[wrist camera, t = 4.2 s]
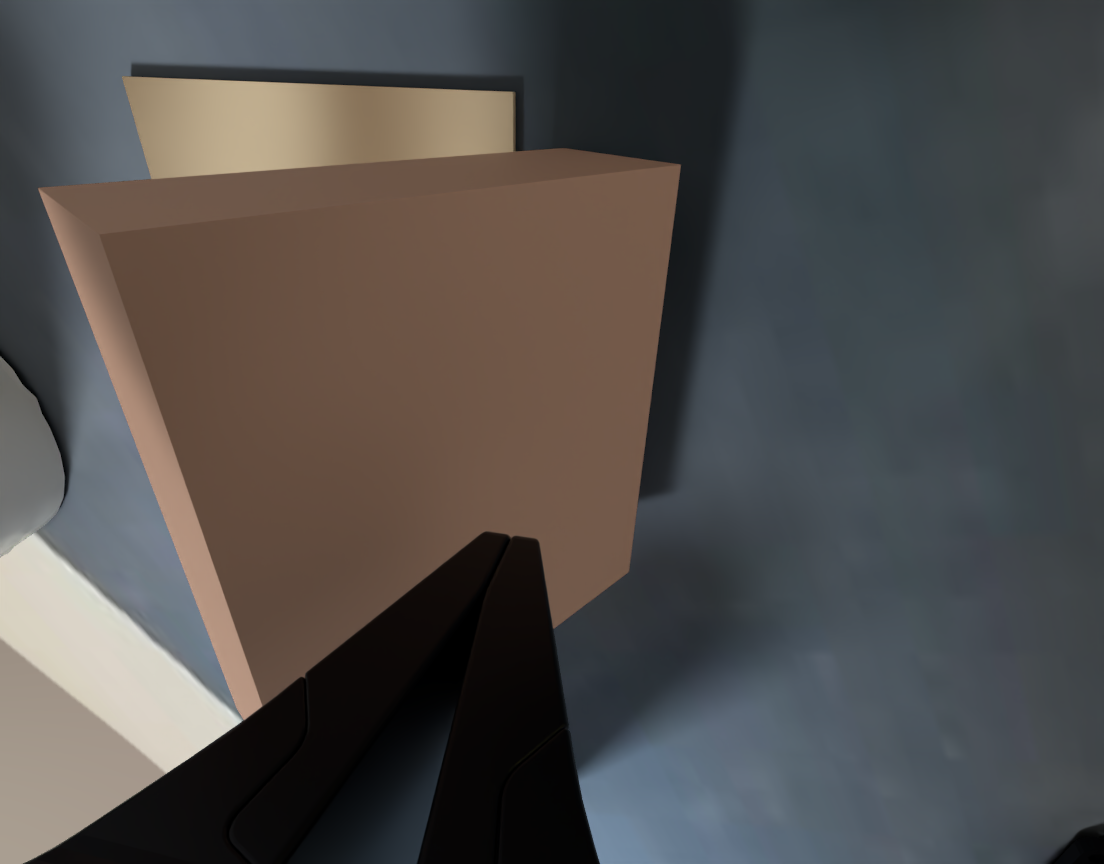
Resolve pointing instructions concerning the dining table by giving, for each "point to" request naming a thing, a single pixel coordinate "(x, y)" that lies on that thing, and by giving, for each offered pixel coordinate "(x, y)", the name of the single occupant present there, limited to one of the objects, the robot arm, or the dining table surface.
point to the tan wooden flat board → (308, 124)
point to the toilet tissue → (25, 464)
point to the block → (377, 376)
